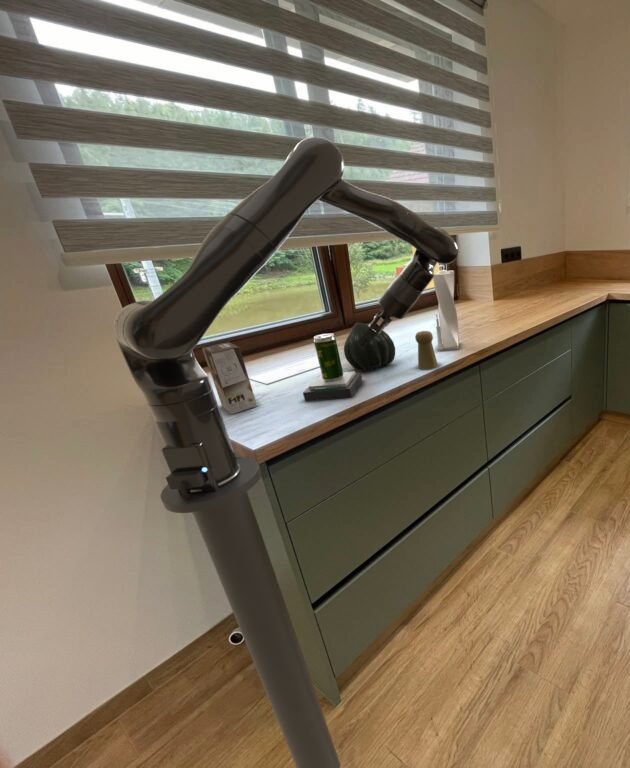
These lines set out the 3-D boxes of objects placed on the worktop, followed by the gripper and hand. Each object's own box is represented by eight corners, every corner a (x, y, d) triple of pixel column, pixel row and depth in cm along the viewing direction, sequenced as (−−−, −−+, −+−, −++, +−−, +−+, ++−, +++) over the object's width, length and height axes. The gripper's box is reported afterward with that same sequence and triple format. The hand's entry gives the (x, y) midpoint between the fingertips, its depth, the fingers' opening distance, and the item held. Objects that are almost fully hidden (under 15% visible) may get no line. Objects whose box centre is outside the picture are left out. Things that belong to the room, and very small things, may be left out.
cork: (415, 369, 130) (410, 334, 126) (422, 363, 136) (417, 329, 132) (434, 369, 129) (429, 334, 125) (440, 362, 135) (436, 329, 131)
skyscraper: (439, 344, 155) (429, 265, 145) (461, 342, 156) (453, 263, 145) (438, 351, 147) (427, 267, 137) (461, 349, 148) (453, 266, 138)
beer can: (339, 373, 120) (330, 332, 115) (347, 377, 116) (338, 335, 112) (320, 379, 116) (309, 336, 112) (327, 383, 113) (317, 339, 108)
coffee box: (258, 406, 110) (240, 346, 104) (231, 415, 106) (210, 353, 100) (247, 398, 116) (229, 341, 110) (220, 406, 112) (200, 347, 106)
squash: (403, 351, 129) (384, 311, 133) (354, 365, 122) (335, 321, 125) (397, 372, 141) (380, 334, 145) (352, 385, 134) (335, 345, 137)
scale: (351, 397, 112) (349, 385, 111) (305, 401, 111) (301, 389, 110) (362, 381, 123) (360, 369, 122) (320, 385, 122) (317, 373, 121)
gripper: (393, 282, 115) (358, 327, 119) (383, 291, 102) (344, 341, 105) (415, 301, 117) (381, 344, 121) (408, 311, 104) (370, 359, 108)
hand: (363, 342), depth 113 cm, fingers open, 8 cm apart
